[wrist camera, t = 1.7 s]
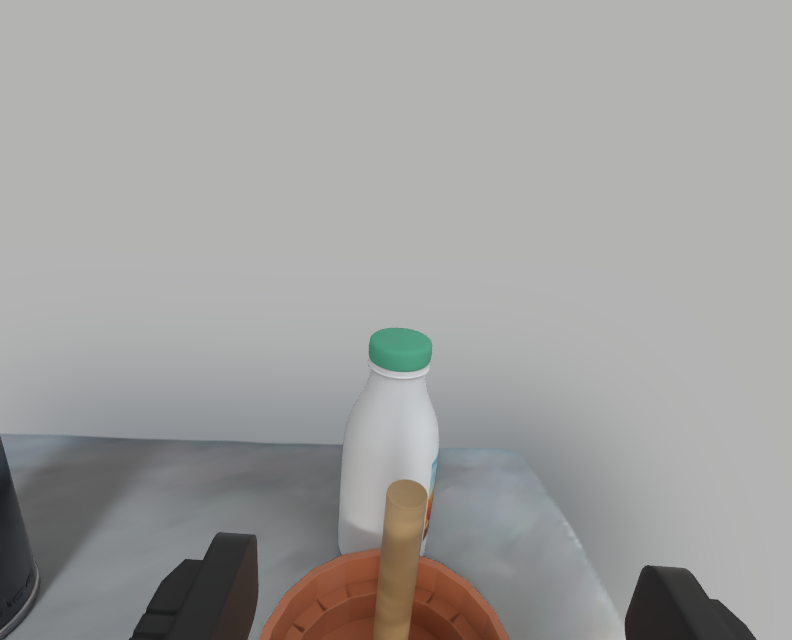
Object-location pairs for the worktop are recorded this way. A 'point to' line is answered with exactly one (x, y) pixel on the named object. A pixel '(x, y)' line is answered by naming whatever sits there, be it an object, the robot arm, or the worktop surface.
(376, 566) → the bowl
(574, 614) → the worktop surface
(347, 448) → the milk bottle
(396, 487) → the stirring stick
